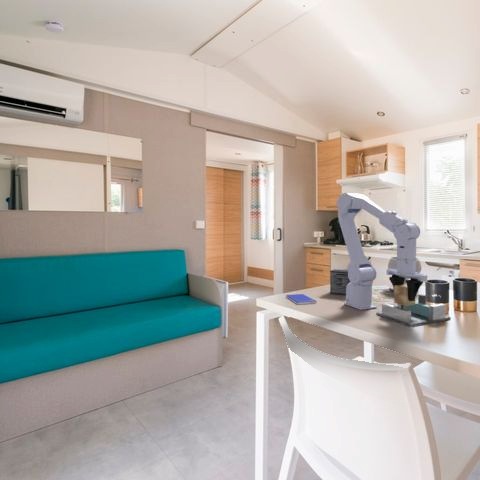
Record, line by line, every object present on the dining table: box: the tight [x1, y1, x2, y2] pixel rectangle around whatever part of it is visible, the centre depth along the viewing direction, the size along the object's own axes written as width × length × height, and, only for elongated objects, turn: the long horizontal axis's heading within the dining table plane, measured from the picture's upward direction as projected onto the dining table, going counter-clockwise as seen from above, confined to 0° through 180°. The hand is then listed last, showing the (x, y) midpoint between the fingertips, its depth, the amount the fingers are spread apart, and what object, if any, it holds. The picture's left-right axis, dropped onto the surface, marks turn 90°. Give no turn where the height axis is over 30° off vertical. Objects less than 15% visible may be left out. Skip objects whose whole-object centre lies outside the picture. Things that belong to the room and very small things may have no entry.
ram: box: [403, 294, 429, 317], centre depth 114 cm, size 10×4×6 cm, turn 22°
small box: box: [329, 268, 351, 296], centre depth 147 cm, size 11×6×10 cm, turn 58°
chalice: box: [387, 256, 422, 291], centre depth 152 cm, size 14×14×15 cm
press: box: [376, 302, 452, 328], centre depth 112 cm, size 14×18×5 cm
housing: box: [393, 284, 416, 306], centre depth 110 cm, size 4×4×6 cm
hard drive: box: [285, 293, 318, 306], centre depth 136 cm, size 2×8×12 cm
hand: (405, 299), depth 111 cm, fingers closed on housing, 4 cm apart
